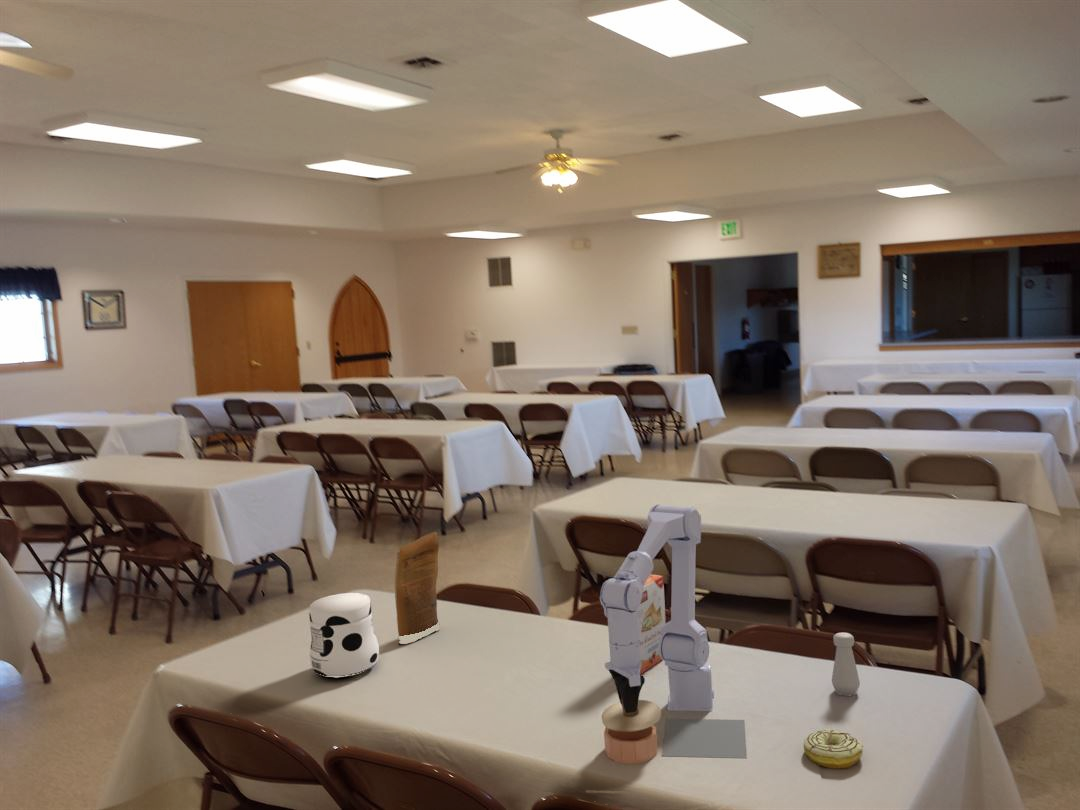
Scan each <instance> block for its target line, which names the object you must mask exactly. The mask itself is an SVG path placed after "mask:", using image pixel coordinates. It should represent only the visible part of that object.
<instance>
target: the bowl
mask: <svg viewBox="0 0 1080 810" xmlns="http://www.w3.org/2000/svg"><path fill="white" fill-rule="evenodd" d="M603 736H604V738H603V740H604V750H605V754H606V756H607V757H608V758H609V759H611V760H612V761H615V762H616V763H617V762H618V763H621V764H639V763H643V762H644V763H645V762H648V761H650V760H651V759H653V758H654V757H656V755H657V753H658V732H657V727H656V726H655V724H654V725H652V726H650V727H648V728H646V729H642V730H638V731H630V732H621V731H615V730H611V729H609V728H607V727H606V726H605V727H604V732H603Z"/></svg>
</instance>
